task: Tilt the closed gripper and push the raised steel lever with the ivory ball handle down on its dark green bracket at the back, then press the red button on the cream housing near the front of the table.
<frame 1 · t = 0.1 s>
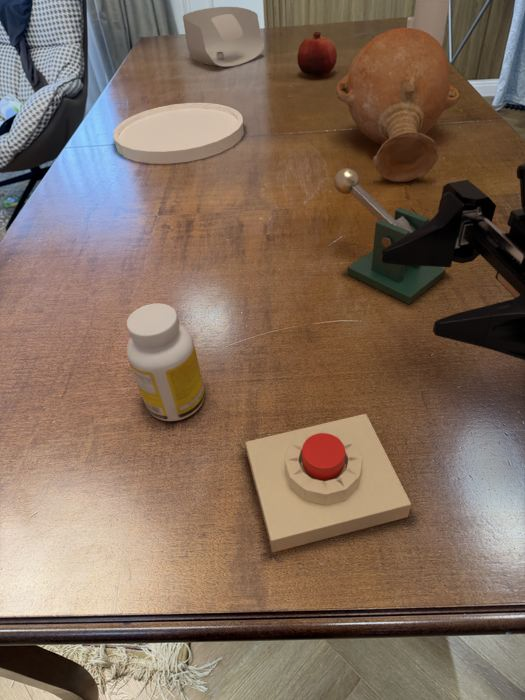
hand: (405, 289, 38), 17 cm above the table, tool horizontal, fingers open, 9 cm apart
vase: (415, 96, 118), on the table
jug: (390, 153, 97), on the table
lever: (372, 206, 65), point 9 cm above the table, hinge at 25.0°
bracket: (395, 275, 68), on the table
pill bottle: (176, 401, 55), on the table
plate: (180, 137, 110), on the table
button box: (322, 484, 46), on the table
button: (323, 456, 43), point 4 cm above the table, slide at 0.1 cm
fruit: (316, 76, 135), on the table
grey curved shell: (221, 60, 153), on the table
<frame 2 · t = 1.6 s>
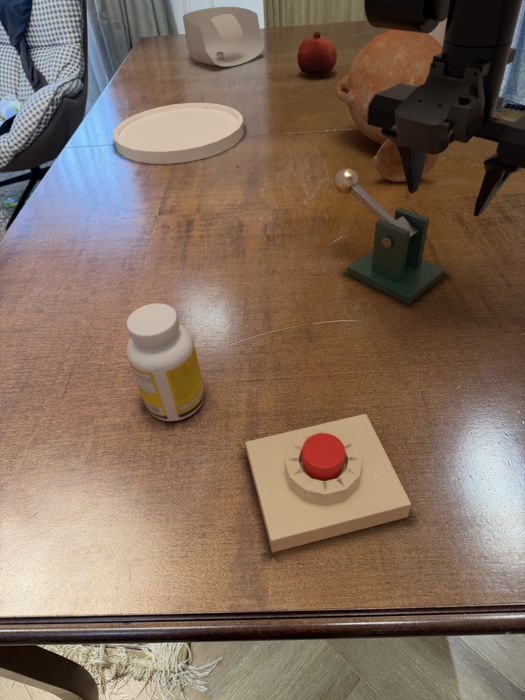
hand: (443, 203, 55), 13 cm above the table, tool pointing down, fingers open, 8 cm apart
nothing on the table moved.
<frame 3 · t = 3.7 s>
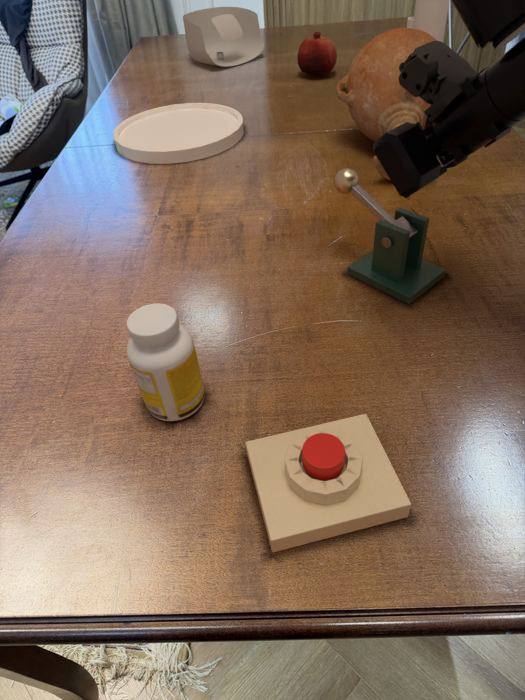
hand: (394, 176, 60), 13 cm above the table, tool tilted 45°, fingers closed
nothing on the table moved.
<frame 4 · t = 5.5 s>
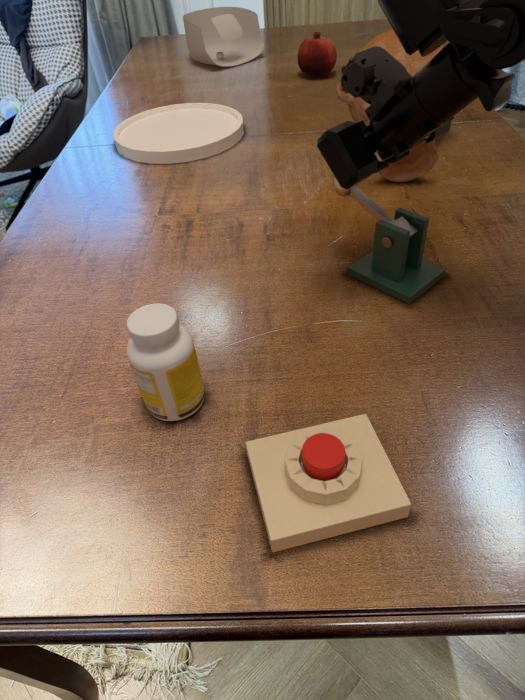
hand: (345, 170, 65), 12 cm above the table, tool tilted 45°, fingers closed, pressing on lever
lever: (372, 207, 65), point 8 cm above the table, hinge at 22.2°, touching gripper
everything else where it was.
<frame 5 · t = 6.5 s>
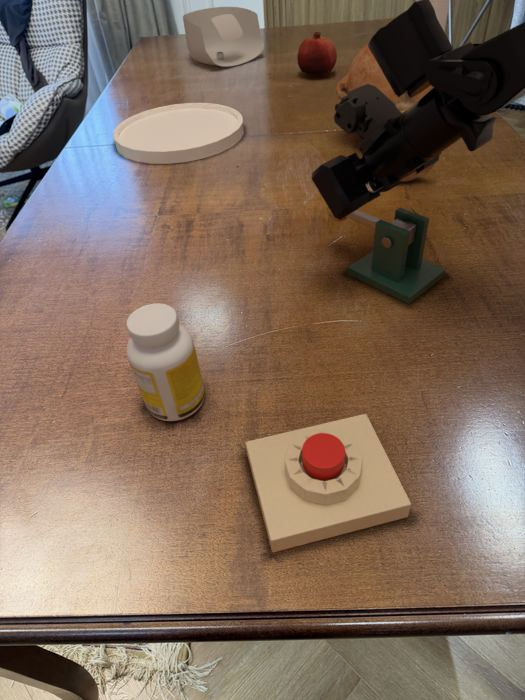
hand: (339, 196, 68), 8 cm above the table, tool tilted 45°, fingers closed, pressing on lever
lever: (368, 220, 66), point 6 cm above the table, hinge at -0.9°, touching gripper
everything else where it was.
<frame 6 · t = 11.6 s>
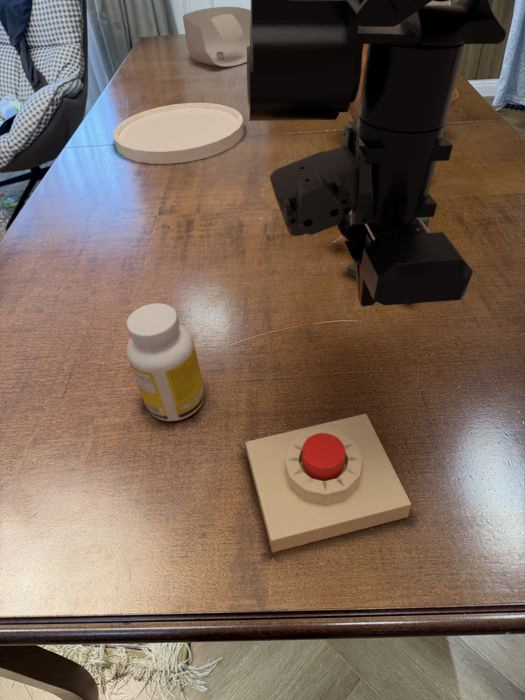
hand: (365, 303, 44), 13 cm above the table, tool pointing down, fingers closed
lever: (368, 225, 67), point 6 cm above the table, hinge at -8.2°
everything else where it was.
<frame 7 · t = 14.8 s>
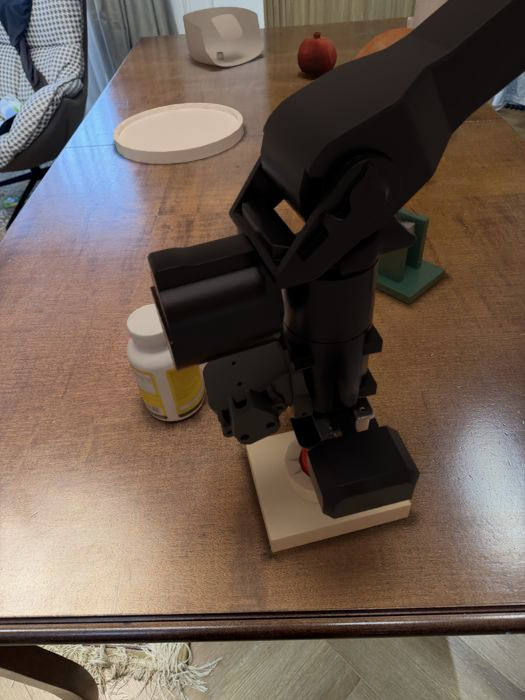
hand: (323, 455, 43), 5 cm above the table, tool pointing down, fingers closed, pressing on button
button: (323, 461, 43), point 4 cm above the table, slide at -0.7 cm, touching gripper
everything else where it was.
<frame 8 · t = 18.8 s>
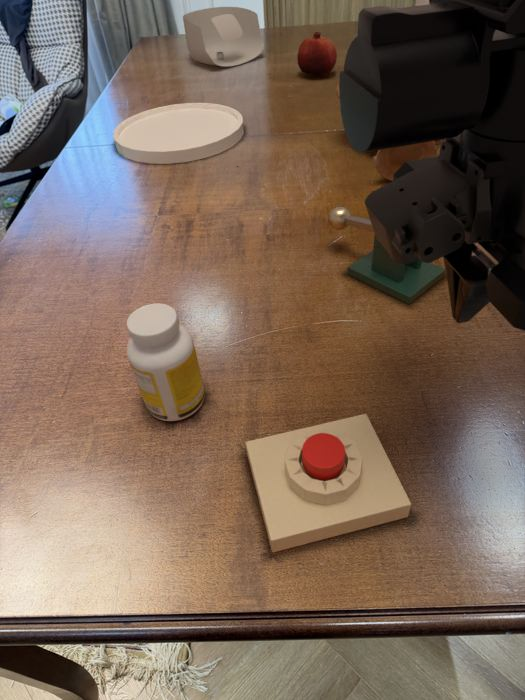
hand: (460, 319, 41), 13 cm above the table, tool pointing down, fingers closed
button: (323, 456, 43), point 4 cm above the table, slide at 0.1 cm
everything else where it was.
at the end: lever at -8° (first picture: +25°); button pushed in 1.1 cm at the most during the clip, back to where it started at the end; button slide at 0.1 cm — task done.
